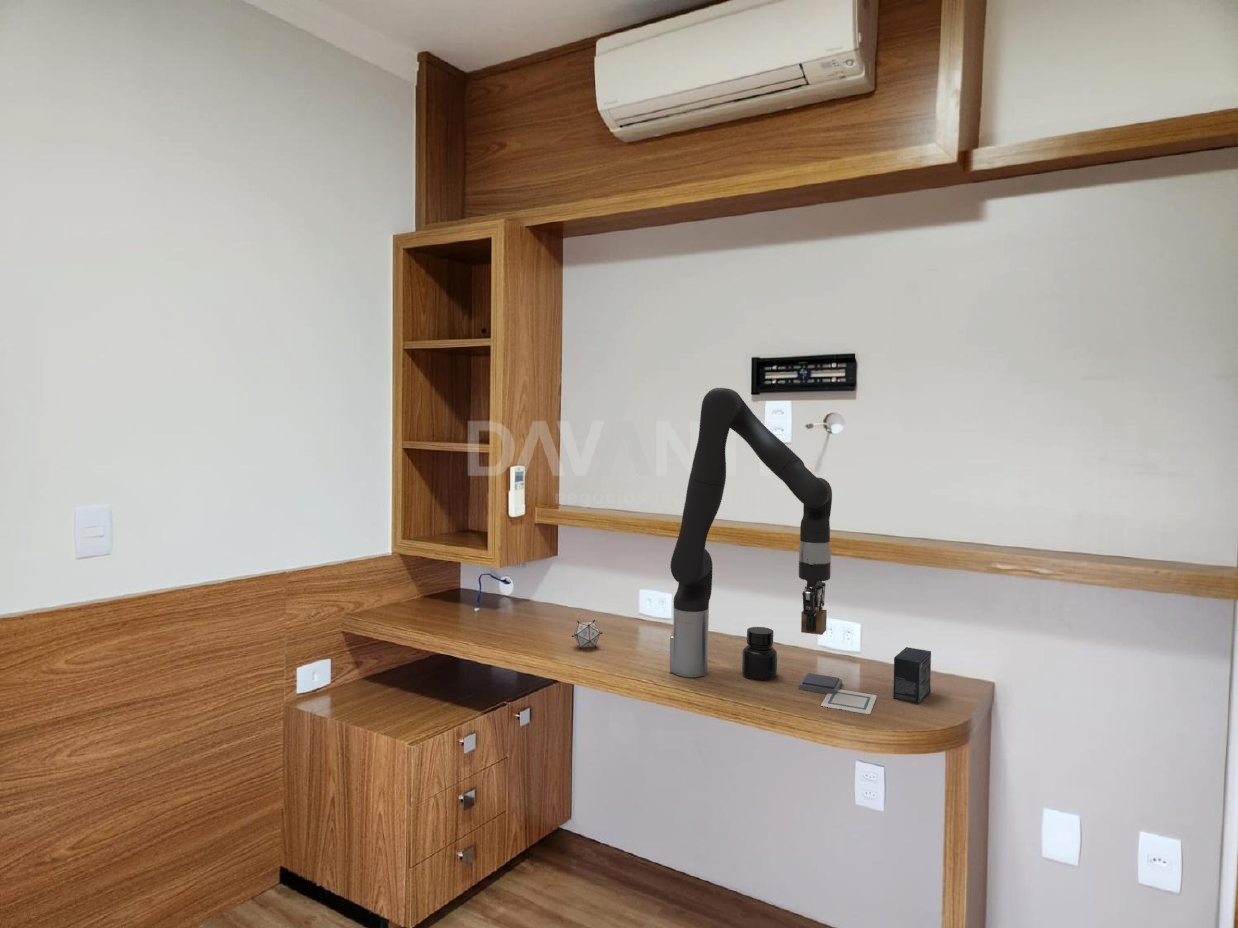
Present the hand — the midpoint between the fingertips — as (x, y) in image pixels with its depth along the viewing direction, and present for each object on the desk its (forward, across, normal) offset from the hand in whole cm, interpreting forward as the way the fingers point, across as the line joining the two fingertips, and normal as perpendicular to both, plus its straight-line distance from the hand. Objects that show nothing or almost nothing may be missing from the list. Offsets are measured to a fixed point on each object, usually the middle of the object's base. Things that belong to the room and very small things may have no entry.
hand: (813, 627), depth 184 cm
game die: (+15, -3, -66) cm, 68 cm away
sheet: (+16, +2, +9) cm, 19 cm away
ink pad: (+16, -4, +1) cm, 16 cm away
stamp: (+1, 0, 0) cm, 1 cm away
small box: (+16, -9, +22) cm, 29 cm away
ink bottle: (+16, -5, -15) cm, 22 cm away
